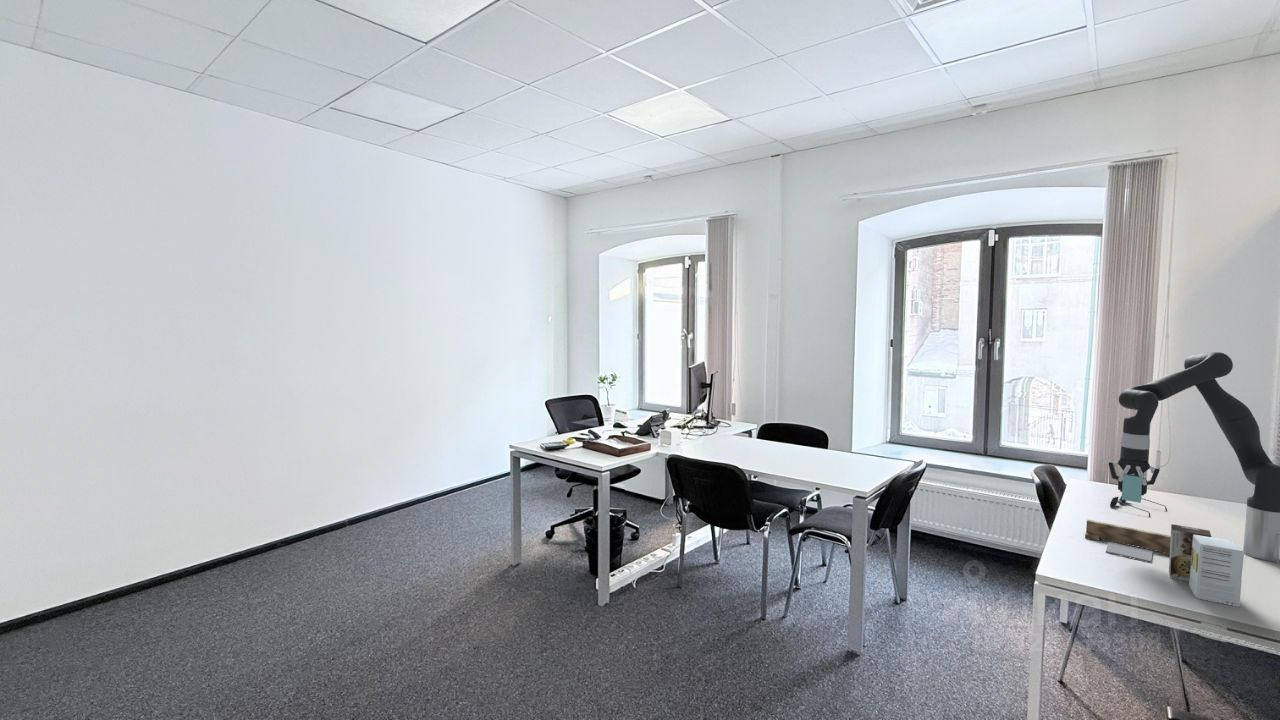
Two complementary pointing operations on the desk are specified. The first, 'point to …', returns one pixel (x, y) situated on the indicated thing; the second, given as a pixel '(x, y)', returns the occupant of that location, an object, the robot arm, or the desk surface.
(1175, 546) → the coffee box
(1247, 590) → the desk surface
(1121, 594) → the desk surface
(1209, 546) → the supplement box
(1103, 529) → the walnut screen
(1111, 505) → the sunglasses
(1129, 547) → the grey mat
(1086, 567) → the desk surface
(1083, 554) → the desk surface
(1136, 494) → the teal block
